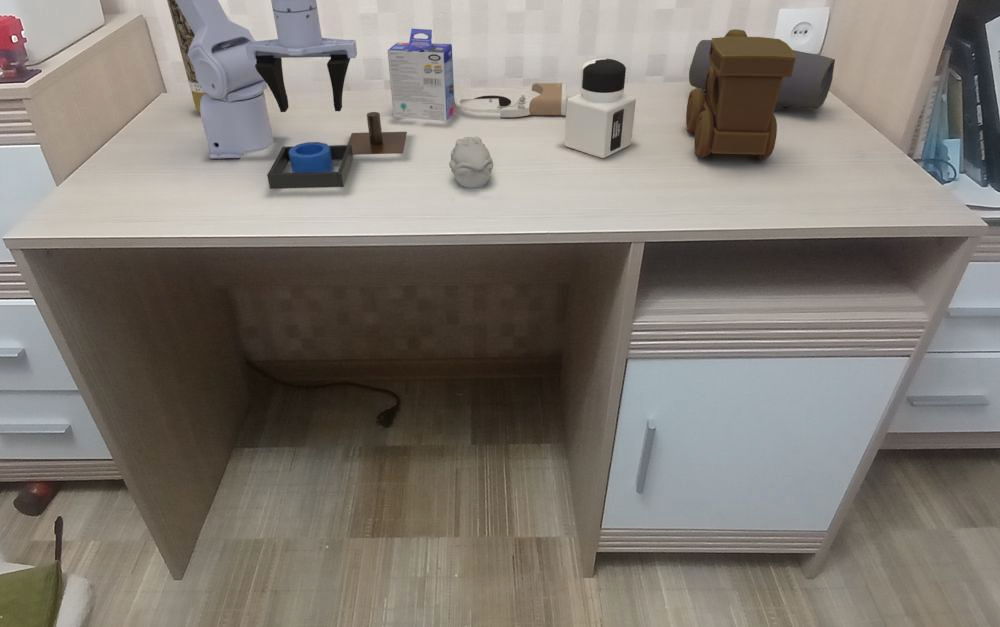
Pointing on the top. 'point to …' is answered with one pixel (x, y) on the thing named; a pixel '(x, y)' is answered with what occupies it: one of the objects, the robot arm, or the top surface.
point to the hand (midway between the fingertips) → (311, 109)
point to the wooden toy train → (739, 95)
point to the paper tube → (186, 50)
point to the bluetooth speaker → (795, 91)
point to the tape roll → (311, 158)
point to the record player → (521, 100)
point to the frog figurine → (471, 162)
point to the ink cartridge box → (422, 78)
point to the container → (600, 110)
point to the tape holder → (377, 139)
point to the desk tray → (310, 178)
